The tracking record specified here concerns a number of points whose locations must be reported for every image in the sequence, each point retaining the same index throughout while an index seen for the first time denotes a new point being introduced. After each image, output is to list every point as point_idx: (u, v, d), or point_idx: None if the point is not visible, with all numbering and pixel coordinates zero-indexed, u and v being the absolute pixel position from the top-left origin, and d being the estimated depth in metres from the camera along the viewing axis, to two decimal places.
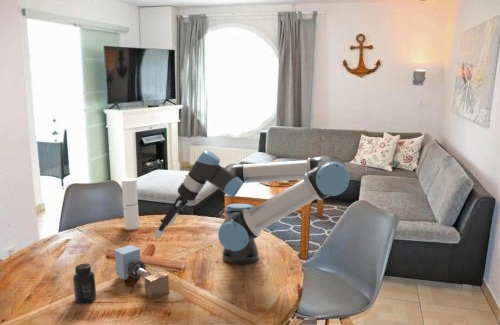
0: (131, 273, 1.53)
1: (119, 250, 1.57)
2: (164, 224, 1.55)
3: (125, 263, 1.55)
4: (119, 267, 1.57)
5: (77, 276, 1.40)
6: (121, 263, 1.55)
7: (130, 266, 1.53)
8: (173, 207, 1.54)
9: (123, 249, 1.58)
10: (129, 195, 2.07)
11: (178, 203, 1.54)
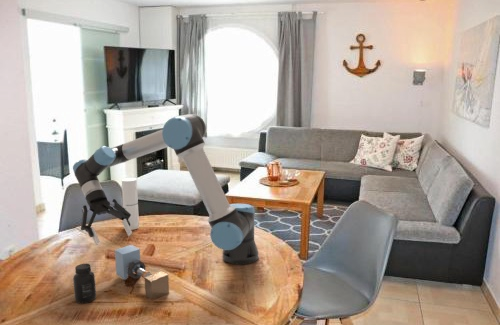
0: (131, 273, 1.53)
1: (119, 250, 1.57)
2: (87, 229, 1.60)
3: (125, 263, 1.55)
4: (119, 267, 1.57)
5: (77, 276, 1.40)
6: (121, 263, 1.55)
7: (130, 266, 1.53)
8: (83, 214, 1.64)
9: (123, 249, 1.58)
10: (129, 195, 2.07)
11: (82, 208, 1.64)
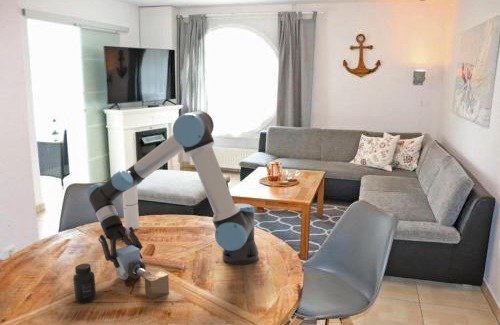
0: (131, 273, 1.53)
1: (119, 250, 1.57)
2: (112, 259, 1.55)
3: (125, 263, 1.55)
4: None
5: (77, 276, 1.40)
6: None
7: (130, 266, 1.53)
8: (102, 244, 1.58)
9: (123, 249, 1.58)
10: (129, 195, 2.07)
11: (99, 238, 1.58)
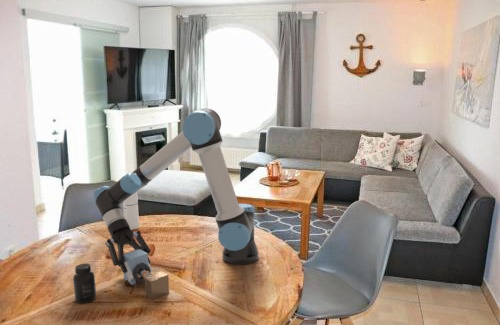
0: (136, 276, 1.50)
1: (127, 254, 1.53)
2: (120, 264, 1.51)
3: (133, 268, 1.51)
4: None
5: (77, 276, 1.40)
6: None
7: (135, 269, 1.50)
8: (109, 248, 1.54)
9: (131, 253, 1.54)
10: None
11: (106, 242, 1.54)
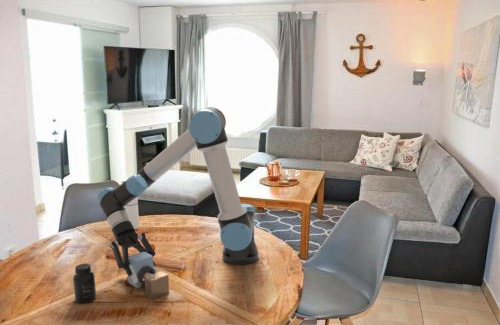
0: (141, 279, 1.48)
1: (131, 257, 1.51)
2: (125, 267, 1.49)
3: (138, 271, 1.49)
4: None
5: (77, 276, 1.40)
6: None
7: (140, 272, 1.48)
8: (113, 251, 1.52)
9: (136, 256, 1.52)
10: None
11: (111, 245, 1.52)
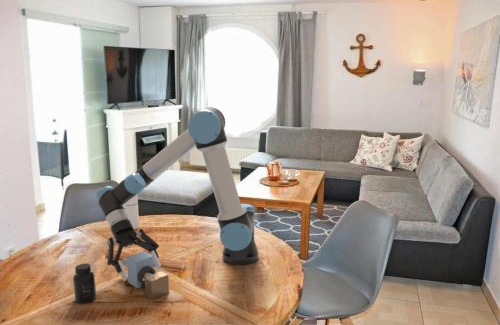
0: (141, 279, 1.48)
1: (132, 257, 1.51)
2: (114, 264, 1.48)
3: (138, 271, 1.49)
4: (132, 275, 1.50)
5: (77, 276, 1.40)
6: (134, 271, 1.49)
7: (140, 272, 1.48)
8: (109, 247, 1.52)
9: (136, 256, 1.52)
10: None
11: (108, 240, 1.52)
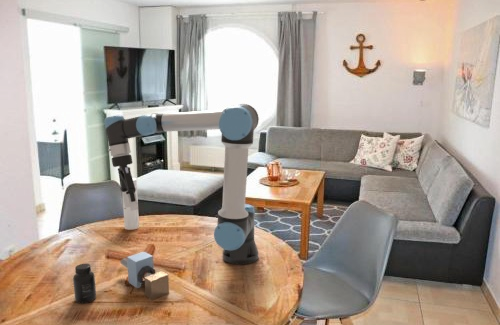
0: (141, 279, 1.48)
1: (132, 257, 1.51)
2: (132, 193, 1.57)
3: (138, 271, 1.49)
4: (132, 275, 1.50)
5: (77, 276, 1.40)
6: (134, 271, 1.49)
7: (140, 272, 1.48)
8: (126, 175, 1.58)
9: (136, 256, 1.52)
10: None
11: (126, 169, 1.58)
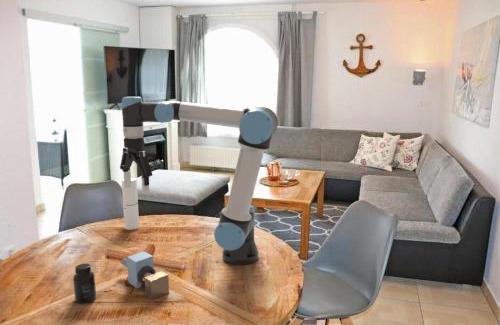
0: (141, 279, 1.48)
1: (132, 257, 1.51)
2: (147, 177, 1.59)
3: (138, 271, 1.49)
4: (132, 275, 1.50)
5: (77, 276, 1.40)
6: (134, 271, 1.49)
7: (140, 272, 1.48)
8: (143, 159, 1.58)
9: (136, 256, 1.52)
10: (129, 195, 2.07)
11: (144, 153, 1.59)
